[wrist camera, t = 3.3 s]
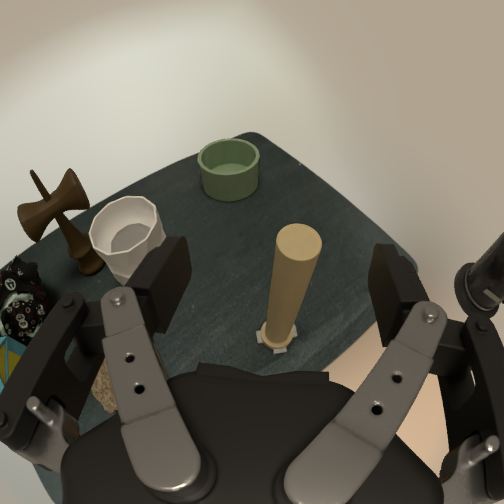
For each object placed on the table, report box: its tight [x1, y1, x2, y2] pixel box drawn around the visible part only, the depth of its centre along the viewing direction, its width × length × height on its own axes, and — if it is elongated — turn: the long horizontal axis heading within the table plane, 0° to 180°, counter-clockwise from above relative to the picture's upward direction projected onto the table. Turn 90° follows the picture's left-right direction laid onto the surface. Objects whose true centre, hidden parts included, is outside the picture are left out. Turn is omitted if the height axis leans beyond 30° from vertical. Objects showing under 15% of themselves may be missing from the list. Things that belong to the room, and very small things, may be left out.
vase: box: [89, 196, 166, 286], centre depth 35 cm, size 9×9×12 cm
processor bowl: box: [198, 138, 260, 201], centre depth 48 cm, size 10×10×6 cm
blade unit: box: [256, 224, 322, 354], centre depth 27 cm, size 5×5×20 cm
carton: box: [0, 335, 27, 394], centre depth 21 cm, size 7×8×18 cm
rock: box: [91, 359, 118, 413], centre depth 29 cm, size 10×8×8 cm
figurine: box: [0, 255, 52, 345], centre depth 30 cm, size 10×15×14 cm
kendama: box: [17, 168, 105, 275], centre depth 33 cm, size 6×10×20 cm, turn 130°
